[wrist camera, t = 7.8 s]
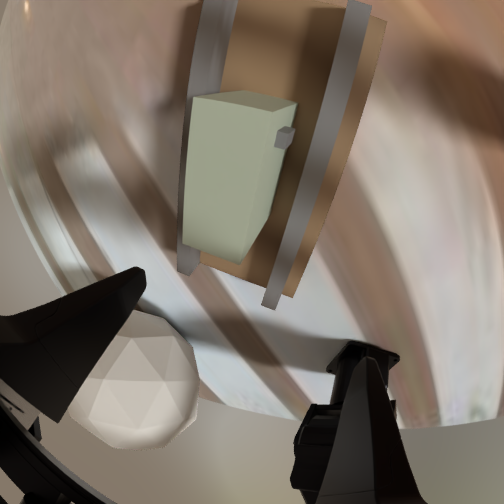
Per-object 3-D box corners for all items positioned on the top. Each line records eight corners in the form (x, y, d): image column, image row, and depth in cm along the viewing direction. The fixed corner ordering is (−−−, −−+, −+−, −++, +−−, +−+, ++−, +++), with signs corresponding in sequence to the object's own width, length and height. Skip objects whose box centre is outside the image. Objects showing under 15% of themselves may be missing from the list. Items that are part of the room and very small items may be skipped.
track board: (295, 290, 24) (287, 314, 21) (183, 247, 25) (166, 266, 23) (384, 24, 10) (392, 13, 8) (214, -5, 11) (192, -16, 9)
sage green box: (277, 216, 19) (249, 269, 14) (225, 199, 20) (182, 243, 15) (307, 105, 14) (286, 115, 9) (243, 90, 14) (193, 96, 10)
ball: (213, 315, 42) (226, 439, 33) (109, 324, 43) (116, 431, 34) (162, 273, 25) (180, 484, 16) (33, 292, 26) (36, 444, 17)
